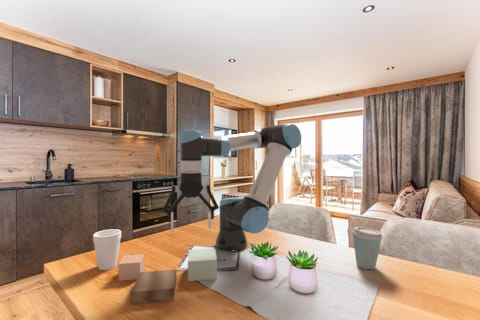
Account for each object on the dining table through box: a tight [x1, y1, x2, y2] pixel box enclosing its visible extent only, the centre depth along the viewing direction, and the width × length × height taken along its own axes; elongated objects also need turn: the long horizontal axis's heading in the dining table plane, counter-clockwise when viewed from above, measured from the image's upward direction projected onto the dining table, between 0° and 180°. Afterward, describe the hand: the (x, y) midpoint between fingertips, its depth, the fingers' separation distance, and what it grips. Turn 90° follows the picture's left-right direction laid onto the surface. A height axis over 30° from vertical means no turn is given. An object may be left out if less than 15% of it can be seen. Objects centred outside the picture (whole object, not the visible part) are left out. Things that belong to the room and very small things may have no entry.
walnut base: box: [130, 269, 178, 305], centre depth 76 cm, size 12×12×4 cm
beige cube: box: [117, 253, 145, 282], centre depth 86 cm, size 7×7×6 cm
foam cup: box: [92, 228, 122, 271], centre depth 92 cm, size 10×9×13 cm
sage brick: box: [187, 248, 218, 282], centre depth 88 cm, size 10×10×7 cm
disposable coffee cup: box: [352, 226, 383, 270], centre depth 94 cm, size 11×11×15 cm
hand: (191, 229), depth 88 cm, fingers open, 13 cm apart
